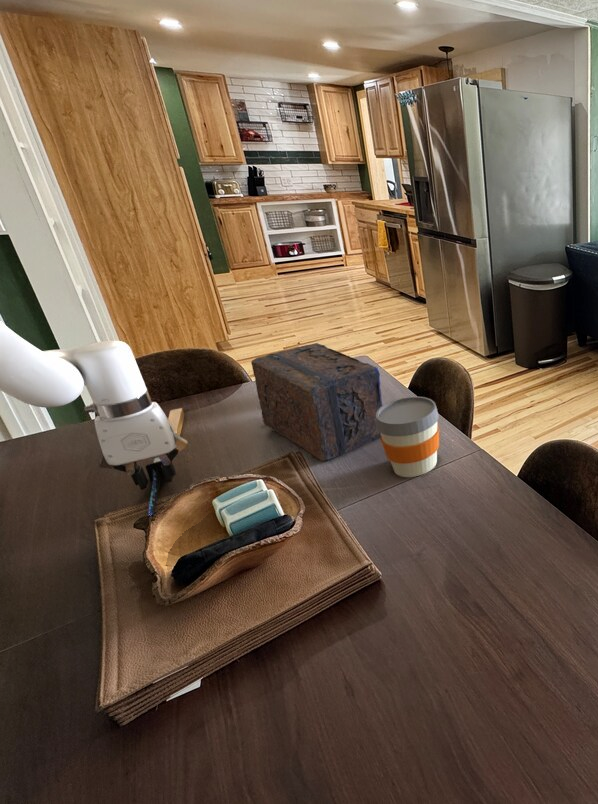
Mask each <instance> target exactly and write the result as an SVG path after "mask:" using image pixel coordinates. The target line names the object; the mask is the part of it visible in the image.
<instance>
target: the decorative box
mask: <svg viewBox="0 0 598 804" xmlns="http://www.w3.org/2000/svg"><path fill="white" fill-rule="evenodd" d="M250 363H251V367H252V372H253V375H254V376H253V377H254V380H255V386H256V393H257V397H258V401H259V407H260V411H261V416H262V417H261V418H262V421H263V424H264V425H265V426H266V427H267V428H270V429H271V430H273V431H275V432H277V433H278V434H279V435H281V436H283V437H284V438H286V439H288V440H289V441H290V442H291V443H293V444H296V445H298V446H299V447H300V448H302V449H303V450H304V451H306V452H307V453H309V454H311V455H312V456H314V457H315V458H316V459H318V460H320V461H322V462H325V461H331V460H334V459H336V458H337V457H340V456H342V455H345V454H347V453H350V452H352V451H355V450H356V449H358V448H360V447H363V446H365V445H367V444H369V443H371V442H373V441H376V440H378V439H379V438H380V436H381V434H380V432H379V431H378V430H377V426H376V412H377V410H378V409H379V408H380V407H382V406H383V400H382V389H381V380H380V379H381V377H380V376H381V373H380V371H379V368H378V367H376V366H375V365H372V364H371V363H367V362H366V363H365V362H362V361H360V360H359V359H356V358H353V357H351V356H349V355H347V354H344V353H342V352H340V351H336V350H334V349H333V348H330V347H327V346H325V345H323V344H321V343H318V342H315V343H310V344H306V345H302V346H297V347H294V348H290V349H286V350H280V351H277V352H273V353H269V354H267V355H263V356H258V357H254V359H252V360H251V361H250Z"/></svg>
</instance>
